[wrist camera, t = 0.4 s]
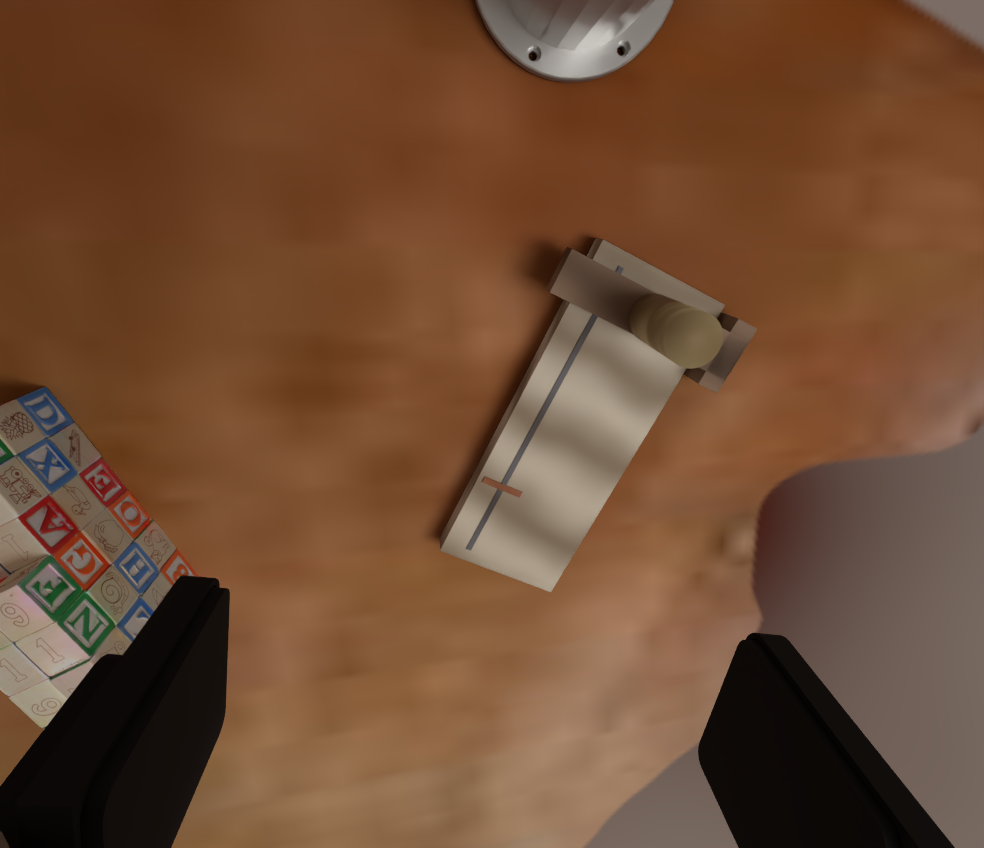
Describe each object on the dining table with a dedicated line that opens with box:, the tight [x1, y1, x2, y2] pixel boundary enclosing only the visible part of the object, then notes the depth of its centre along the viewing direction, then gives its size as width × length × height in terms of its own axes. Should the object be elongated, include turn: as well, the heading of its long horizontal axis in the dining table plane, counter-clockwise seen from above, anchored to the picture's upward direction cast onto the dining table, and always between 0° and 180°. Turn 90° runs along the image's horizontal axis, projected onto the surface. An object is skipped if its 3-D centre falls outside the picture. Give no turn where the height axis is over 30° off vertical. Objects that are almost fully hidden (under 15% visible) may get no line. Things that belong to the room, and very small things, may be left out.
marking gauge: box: [546, 247, 757, 393], centre depth 37 cm, size 5×14×10 cm, turn 64°
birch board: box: [440, 238, 725, 592], centre depth 44 cm, size 26×10×2 cm, turn 154°
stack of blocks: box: [0, 387, 198, 730], centre depth 39 cm, size 21×6×12 cm, turn 25°
